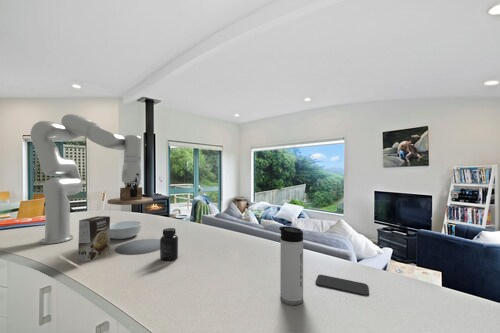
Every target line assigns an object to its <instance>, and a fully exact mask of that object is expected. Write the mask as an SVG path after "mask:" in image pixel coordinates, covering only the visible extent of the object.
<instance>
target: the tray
mask: <svg viewBox="0 0 500 333" xmlns="http://www.w3.org/2000/svg"><path fill="white" fill-rule="evenodd" d="M160 239H161V238H160ZM160 239H159V238H144V239H142V238H141V239H136V240H131V241H128V242H124V243H121V244H120V245H117V247H115V249H114V252H115V253H117V254H118V255H124V256H138V255H146V254H151V253H155V252H159V251H160Z"/></svg>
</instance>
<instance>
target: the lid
mask: <svg viewBox="0 0 500 333" xmlns="http://www.w3.org/2000/svg"><path fill="white" fill-rule="evenodd" d="M130 189H131V187H128V188H125V187H120V188H119V197H115V198H110V199H108V200H107V204H109V205H115V206H116V205H118V206H124V205H125V206H127V205H128V206H130V205H131V206H132V205H143V204H150V203H153V201H154V199H153V198H151V197H145V196H144V197H143V187H141V186H138V189H137V197H130Z"/></svg>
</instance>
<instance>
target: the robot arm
mask: <svg viewBox="0 0 500 333" xmlns="http://www.w3.org/2000/svg"><path fill="white" fill-rule="evenodd" d="M60 122H61V123H58V122H54V121H48V120H41V121H40V120H39V121H38V122H36V123H34V124H33V125H32V127H31V129H30V140H31V142H32V144H33V146H34V149H35V151H36V155H37V158H38V161H39V162H38V163H39V165H40V169H41V172H42V173H43V174H44V175H45V176H51V177H52V178H49V179H47V180H46V181H45V182H44V183H43V186H42V191H43V195H44V202H45V203H44V204H45V206H44V207H45V211H44V212H45V213H44V214H45V216H44V220H45V223H44V238H42V239H41V240H40V243H41V244H43V245H52V244H54V245H55V244H59V243H64V242H68V241H70V240H73V239H74V235H73V234H70V231H71V230H70V229H71V228H70V224H71V223H70V222H71V220H70V219H71V204H70V200H69V198H68V196H73V195H77V194H79V193H80V192H81V191H82V190H83V181H82V177H81V174H80V170H79V167H78V165H77V163H76V161H75V160H73V159H71V158H68V157H62V156H61V153H60V151H59V150H60V149H59V148H58V146H57V144H56V143H55V142H54V141H53V140H58V141H65V142H66V141H67V142H68V141H72V140H74V139H78V138H79V137H84V138H86V139H87V140H89V141H91V142H93V143H95V144H97V145H98V146H101V147H103V148H106V149H110V150H117V151H123V165H122V171H121V182H122V183H124V188H128V187H131V189H130V197H137V189H138V187H140V185H141V180H142V169H141V167H142V166H141V162H142V160H141V158H142V138H141V136H139V135H136V134H126V135H122V134H118V133H115V132H111V131H109V130H105V129H103V128H101V126H100V125H99V124H98V123H97V122H94V121H91V120H90V119H89V118H87V117H84V116H82V115H81V116H80V115H77V114H74V113H73V114H72V113H70V114H68V113H67V114H65V115H63V116H62V117H61V121H60ZM57 176H58V177H57Z"/></svg>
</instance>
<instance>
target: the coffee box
mask: <svg viewBox="0 0 500 333" xmlns="http://www.w3.org/2000/svg"><path fill="white" fill-rule="evenodd" d="M110 224H111V216H108V215H107V216H106V215H105V216H104V215H103V216H101V215H100V216H99V215H97V216H92V217H89V218H84V219H80V220H79V221H78V248H77V251H78V252H77V260H78V261H83V262H92V261H96V260H98V259H99V258H103V257H105V256H106V255H109V254H110V242H111V241H110V239H111V238H110Z"/></svg>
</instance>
